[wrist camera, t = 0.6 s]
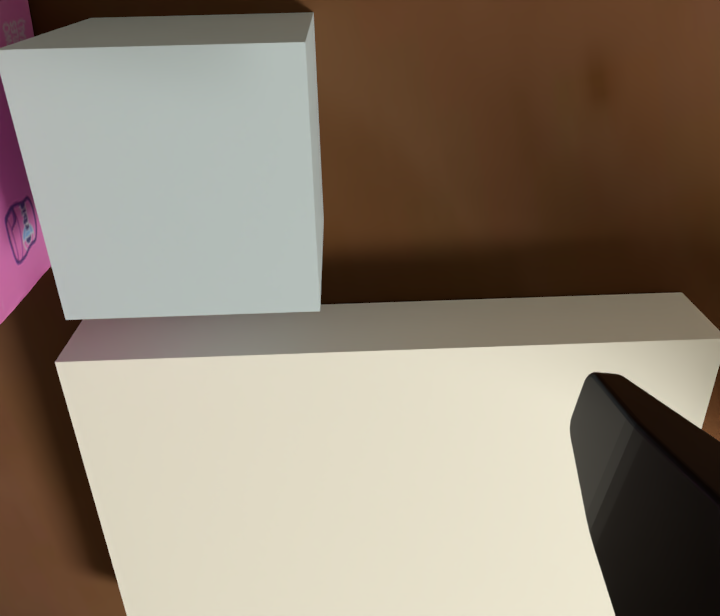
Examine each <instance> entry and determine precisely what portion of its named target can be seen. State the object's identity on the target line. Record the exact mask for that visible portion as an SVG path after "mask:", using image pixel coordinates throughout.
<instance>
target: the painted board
mask: <svg viewBox="0 0 720 616" xmlns="http://www.w3.org/2000/svg"><path fill="white" fill-rule="evenodd" d="M55 365H56V368H57V372H58V375H59V379H60V382H61V386H62V389H63V393H64V396H65V400H66V403H67V407H68V410H69V414H70V417H71V421H72V424H73V428H74V431H75V435H76V438H77V442H78V446H79V449H80V453H81V456H82V460H83V463H84V467H85V470H86V474H87V477H88V481H89V484H90V488H91V491H92V495H93V498H94V502H95V505H96V509H97V512H98V516H99V519H100V523H101V526H102V530H103V533H104V537H105V540H106V544H107V547H108V551H109V554H110V558H111V561H112V565H113V568H114V572H115V575H116V579H117V582H118V586H119V589H120V593H121V596H122V600H123V603H124V607H125V610H126V614H127V616H615V613H614V610H613V607H612V604H611V600H610V597H609V594H608V591H607V588H606V585H605V582H604V578H603V575H602V572H601V569H600V566H599V563H598V560H597V556H596V553H595V550H594V547H593V543H592V540H591V536H590V533H589V529H588V524H587V520H586V515H585V510H584V505H583V500H582V495H581V489H580V484H579V479H578V474H577V469H576V464H575V458H574V453H573V448H572V443H571V438H570V421H571V417H572V414H573V411H574V408H575V406H576V403H577V400H578V397H579V395H580V392H581V389H582V386H583V383H584V381H585V379H586V377H587V376H588V375H589V374H591V373H593V372H602V373H613V374H619V375H622V376H624V377H625V378H627V379H628V380H629V381H631V382H632V383H634V384H635V385H637V386H638V387H640V388H641V389H643V390H644V391H646V392H647V393H649V394H650V395H652V396H653V397H655V398H656V399H658V400H659V401H660V402H662V403H663V404H665V405H666V406H668V407H669V408H671V409H672V410H674V411H675V412H677V413H678V414H680V415H681V416H683V417H684V418H686V419H687V420H689V421H690V422H691V423H693V424H694V425H696V426H697V427H699V428H700V429H701V428H702V425H703V421H704V418H705V414H706V411H707V407H708V404H709V400H710V397H711V393H712V390H713V386H714V383H715V379H716V376H717V372H718V369H719V365H720V331H719V330H718V329H717V328H716V327H715V326H714V325H713V324H712V323H711V322H710V321H709V319H708V318H707V317H706V316H705V315H704V314H703V313H702V312H701V311H700V310H699V309H698V308H697V307H696V306H695V305H694V304H693V303H692V302H691V301H690V300H689V299H688V298H687V297H686V296H685V295H684V294H683V293H682V292H677V293H647V294H618V295H588V296H559V297H529V298H500V299H471V300H441V301H412V302H382V303H353V304H323V305H321V306H320V311H317V312H287V313H257V314H228V315H198V316H168V317H139V318H109V319H83V320H82V322H81V323H80V325H79V326H78V328H77V329H76V331H75V332H74V334H73V335H72V337H71V338H70V340H69V341H68V343H67V344H66V346H65V347H64V349H63V350H62V352H61V353H60V355H59V357H58V358H57V360H56V361H55Z"/></svg>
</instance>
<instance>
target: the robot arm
mask: <svg viewBox="0 0 720 616" xmlns="http://www.w3.org/2000/svg"><path fill="white" fill-rule="evenodd" d="M570 438H571V443H572V448H573V453H574V458H575V464H576V469H577V474H578V479H579V484H580V489H581V495H582V500H583V505H584V510H585V515H586V520H587V524H588V529H589V533H590V536H591V540H592V543H593V547H594V550H595V553H596V556H597V560H598V563H599V566H600V569H601V572H602V575H603V578H604V582H605V585H606V588H607V591H608V594H609V597H610V600H611V604H612V607H613V610H614V613H615V616H720V442H719V441H718V440H717V439H715V438H714V437H712V436H711V435H709V434H708V433H706V432H705V431H703V430H702V429H700V428H699V427H697V426H696V425H694V424H693V423H691V422H690V421H689V420H687V419H686V418H684V417H683V416H681V415H680V414H678V413H677V412H675V411H674V410H672V409H671V408H669V407H668V406H666V405H665V404H663V403H662V402H660V401H659V400H658V399H656V398H655V397H653V396H652V395H650V394H649V393H647V392H646V391H644V390H643V389H641V388H640V387H638V386H637V385H635V384H634V383H632V382H631V381H629V380H628V379H627V378H625V377H624V376H622V375H619V374H613V373H602V372H593V373H591V374H589V375H588V376H587V377H586V379H585V381H584V383H583V386H582V389H581V392H580V395H579V397H578V400H577V403H576V406H575V408H574V411H573V414H572V417H571V421H570Z"/></svg>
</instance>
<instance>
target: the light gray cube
mask: <svg viewBox="0 0 720 616" xmlns="http://www.w3.org/2000/svg"><path fill="white" fill-rule="evenodd" d="M0 75H1V79H2V83H3V86H4V90H5V94H6V98H7V101H8V105H9V109H10V113H11V117H12V120H13V124H14V128H15V132H16V135H17V139H18V143H19V147H20V150H21V154H22V158H23V162H24V165H25V169H26V173H27V177H28V180H29V184H30V188H31V192H32V195H33V199H34V203H35V207H36V210H37V214H38V218H39V222H40V225H41V229H42V233H43V237H44V240H45V244H46V248H47V252H48V255H49V259H50V263H51V267H52V270H53V274H54V278H55V282H56V285H57V289H58V293H59V297H60V301H61V304H62V308H63V312H64V316H65V319H66V320H79V319H109V318H139V317H168V316H198V315H228V314H257V313H287V312H317V311H320V306H321V279H322V251H323V224H324V217H323V196H322V176H321V155H320V135H319V114H318V94H317V73H316V53H315V32H314V12H307V13H267V14H227V15H187V16H147V17H107V18H89V19H86V20H83V21H80V22H77V23H74V24H71V25H68V26H65V27H62V28H59V29H56V30H53V31H50V32H47V33H44V34H41V35H38V36H35V37H32V38H29V39H26V40H23V41H20V42H17V43H14V44H11V45H8V46H5V47H2V48H0Z"/></svg>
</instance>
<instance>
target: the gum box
mask: <svg viewBox="0 0 720 616" xmlns="http://www.w3.org/2000/svg"><path fill="white" fill-rule="evenodd" d="M32 37H34V32H33V26H32V20H31V15H30V9H29V4H28V0H0V48H2V47H5V46H8V45H11V44H14V43H17V42H20V41H23V40H26V39H29V38H32ZM50 267H51V263H50V259H49V255H48V252H47V248H46V244H45V240H44V237H43V233H42V229H41V225H40V222H39V218H38V214H37V210H36V207H35V203H34V199H33V195H32V192H31V188H30V184H29V180H28V177H27V173H26V169H25V165H24V162H23V158H22V154H21V150H20V147H19V143H18V139H17V135H16V132H15V128H14V124H13V120H12V117H11V113H10V109H9V105H8V101H7V98H6V94H5V90H4V86H3V83H2V79H1V75H0V324H1V323H2V322H3V321H4V320H5V319H6V318H7V316H8V315H9V314H10V313H11V312H12V311H13V310H14V309H15V308H16V306H17V305H18V304H19V303H20V302H21V301H22V299H23V298H24V297H25V296H26V295H27V294H28V292H29V291H30V290H31V289H32V288H33V286H34V285H35V284H36V283H37V281H38V280H39V279H40V278H41V277H42V275H43V274H44V273H45V272H46V271H47V270H48V269H49V268H50Z"/></svg>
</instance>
